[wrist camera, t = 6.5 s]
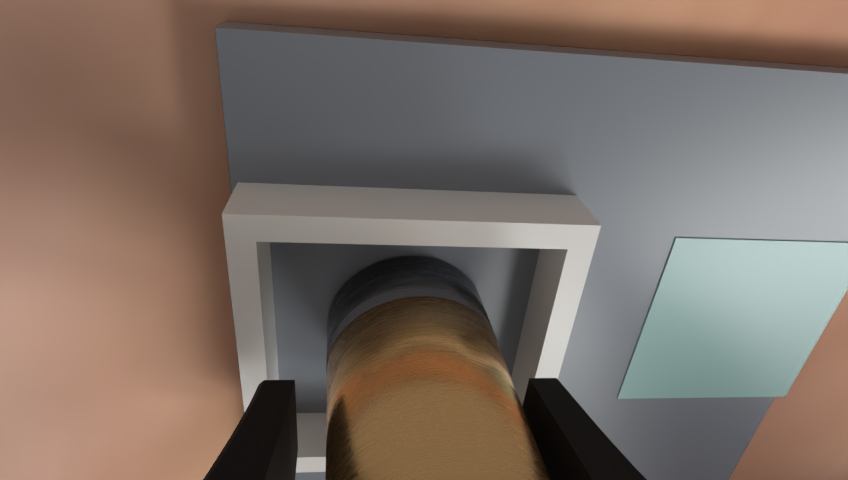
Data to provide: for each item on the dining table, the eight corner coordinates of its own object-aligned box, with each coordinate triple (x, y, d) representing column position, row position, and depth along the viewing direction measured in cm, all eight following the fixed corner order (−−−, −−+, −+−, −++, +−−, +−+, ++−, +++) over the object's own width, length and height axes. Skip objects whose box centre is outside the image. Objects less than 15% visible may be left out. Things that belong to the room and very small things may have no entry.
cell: (493, 255, 13) (613, 503, 8) (471, 376, 15) (551, 642, 10) (326, 255, 12) (321, 527, 7) (326, 381, 14) (322, 672, 9)
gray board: (932, 74, 13) (1037, 100, 11) (721, 461, 20) (762, 521, 18) (224, 21, 11) (192, 42, 9) (266, 474, 18) (254, 544, 16)
